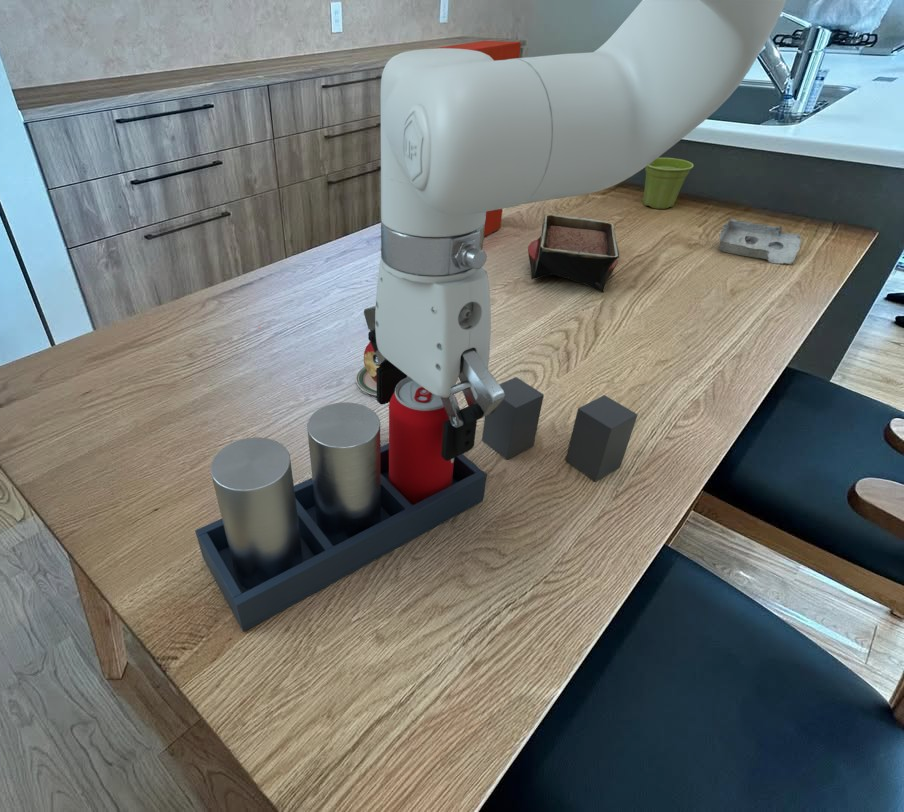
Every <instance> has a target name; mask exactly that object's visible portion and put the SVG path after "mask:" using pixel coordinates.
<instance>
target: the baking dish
mask: <svg viewBox="0 0 904 812" xmlns="http://www.w3.org/2000/svg"><path fill="white" fill-rule="evenodd" d="M615 231H616V229H615V225H614V224H613V223H612V222H610V221H606V220H599V219H592V218H584V217H578V216H573V215H572V216H571V215H561V214H545V215H544V216H543V218H542V227H541V236H540V237H538V238H537V239H535V240H533V241H531V242H530V243H529V244H528V245H527V254H528V261H529V266H530V276H531V278H530V279H531V280H536V279H540V278H544V277H548V276H552V275H555V276H558V277H561V278H563V279H568V280H570V281H573V282H577V283H580V284H583V285H586V286H588V287H591V288H593V289H595V290H598V292H602V293H605V291H604V290H605V288H606V285H607V283H608V281H609V279H610V277H611V275H612V273H613V272H614V270H615V268H616V267H617V266H618V259H619V258H620V249H619V246H618V242H617V238H616V237H617V236H616V232H615Z"/></svg>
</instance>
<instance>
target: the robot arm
mask: <svg viewBox="0 0 904 812" xmlns="http://www.w3.org/2000/svg"><path fill="white" fill-rule="evenodd" d="M786 2H787V0H641V1H640V2H639V4H638V5H637V6H636V7H635V9H634V10H633V11H631V13H630V15H628V16H627V17H626V19H625V20H624V21H623V22H622V24H621V25H620V26H619V27H618V28H617V29H616V30H615V32H614V33H613V34H612V35H611V36H610V37H609V38H608V39H607V40H606V41H605V42H604V43H602V45H601V46H599V47H598V48H596V49H595V50H594V51H593V52H592V51H591V52H576V53H560V54H550V55H540V56H527V57H519V58H515V59H507V60H497V61H494V60H493V59H492V58H491V57H490V56H489V55H487V54H485V53H482V52H479V51H474V50H467V49H451V48H439V47H438V48H439V49H432V48H421V49H413V50H407V51H403V52H400V53H398V54H396V55H394V56H392V57H391V58H390V59H389V60H388V61H387V63H386V64H385V66H384V67H383V68H384V69H383V71H382V73H381V77H380V78H381V79H380V261H379V266H378V273H377V281H376V282H377V283H376V294H375V305H373V306H370V307H367V308H366V307H365V309H363V315H364V318H365V322H366V325H367V330H369V332H368V333H367V334H368V340H369V342H371V344H372V347H373V349H374V351H375V353H374V354H373V362H374V364H375V365H376V366H379V368H376V379H377V396H376V402H377V403H378V404H380V405H386V404H389V402H390V399H391V397H392V395H393V393H394V392H395V388H396V386H397V384H398V383H399V382H400V381H401V380H403V379H405V378H407V376H409V377H410V378H411V379H413V380H414V381H415V382H417V383H418V384H419V385H421V386H422V387H424V388H425V389H426V390H428V391H429V392H431V393H433V394H434V395H436V396H439V397H441V400H442V402H443V405H444V407H445V410H446V412H447V415H448V417H449V419H448V420H446V421H445V422H444V424H443V437H442V450H441V455H442V458H444V459H445V460H446V461H449V460H451V459H453V458H455V457H457V456H459V455H461V454H463V455H464V454H466V453H468V452H469V451H471V450H472V449H473V448H474V447H475V441H476V440H475V438H476V434H477V433H476V431H477V423H478V420H481V419H482V418H485V416H487V415H489V414H491V413H493V412H494V411H495V408H497V406H498V405H499V404H500V403H501V402H502V401H503V399H504V398H505V393H504V391H503V389H502V388H501V386H500V385H499V384H500V383H499V382H498V381H497V379H496V378H495V377H494V375H493V374H492V373H491V371H490V370H489V363H490V354H491V353H490V352H491V331H492V309H491V306H492V305H491V291H490V290H491V289H490V282H489V276H488V271H487V270H486V269H485V268H483V267H484V266H485V264H486V262H487V259H488V256H487V252H486V251H485V250H483V248H484V238H485V236H484V229H485V220H486V211H492V210H498V209H502V210H504V209H508V208H509V209H510V208H515V207H519V206H521V205H525V204H532V203H539V202H544V201H551V200H558V199H564V198H570V197H571V198H572V197H578V196H584V195H589V194H595V193H598V192H600V191H604V190H607V189H609V188H612V187H615V186H616V185H618V184H620V183H622V182H624V181H626V180H628V179H630V178H631V177H633V176H634V175H636V174H637V173H639V172H640V171H642V170H643V169H644V168H645V169H646V166H647V165H649V164H650V163H652V162H653V161H654V160H655V159H657V158H660V157H661V156H662V155H663V154H664V153H666V152H667V151H668V150H669V149H671V148H672V147H674V146H675V145H676V144H677V143H679V142H680V141H681V140H682V139H684V138H685V137H686V136H687V135H688V134H690V133H691V132H692V131H693V130H694V129H696V128H697V127H698V126H700V125H701V124H702V123H704V122H705V121H706V120H707V119H708V118H709V117H711V116H712V115H713V114H714V113H715V112H716V111H717V110H718V109H720V107H721V106H722V105H723V104H724V103H726V101H727V100H728V99H729V98H730V97H731V96H732V95H733V93H734V92H735V91H736V90H737V88H739V86H740V85H741V84H742V82H743V81H744V79H745V77H746V76H747V74H748V73H749V72H750V70H751V69H752V67H753V65H754V63H755V62H756V59H757V58H758V56H759V55H760V53H761V51H762V50H763V48H764V46H765V45H766V44H767V41H768V40H769V38H770V36H771V35H772V32H773V31H774V29H775V27H776V26H777V23H778V21H779V18H780V16H781V14H782V12H783V10H784V8H785V5H786ZM458 379H459V381H460V382H458V383H457V381H458ZM460 392H462V394H463V396H464V399H465V402H466V404H467V406H466V407H463V408H461V409H460V406H459V402H458V400H457V401H456V399H457V397H456V396H454V395H455V394H457V393H460ZM455 397H456V398H455ZM457 402H458V403H457Z"/></svg>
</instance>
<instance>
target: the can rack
mask: <svg viewBox="0 0 904 812" xmlns="http://www.w3.org/2000/svg"><path fill="white" fill-rule="evenodd" d="M380 470H381V522H380V523H378V524H376V525H374V526H372V527H370V528H368V529H366V530H364V531H362V532H360V533H358V534H357V535H355V536H353V537H351V538H349V539H347V540H345V541H343V542H341V543H339V544H337V545H335V546H333V545H332V544H331V543H330V541H329V540H328V539H327V537H326V536H325V535H324V534H323V532H322V531H321V530H320V529H319V527H318V526H317V520H316V510H315V500H314V490H313V480H312V477H311V478H308V479H306V480H304V481H302V482H300V483H297V484H294V491H295V499H296V507H297V515H298V523H299V530H300V538H301V546H302V554H303V562H302V563H300V564H299V565H297V566H295V567H293V568H291V569H289V570H287V571H285V572H283V573H281V574H279V575H277V576H275V577H273V578H271V579H269V580H268V581H266V582H264V583H262V584H260V585H258V586H256V587H254V588H252V589H248V588H246V587H245V586H243V585H242V584H241V583H240V582H239V580H238V579H237V577H236V574H235V571H234V567H233V562H232V558H231V554H230V550H229V546H228V542H227V538H226V533H225V529H224V525H223V521H222V518H220V519H217V520H215V521H213V522H210V523H208V524H206V525H204V526H202V527H199V528H197V529H196V530H195V535H196V538H197V543H198V546H199V549H200V553H201V556H202V559H203V560H204V562H205V564H206V566H207V568H208V570H209V571H210V573H211V575H212V577H213V579H214V581H215V582H216V585H217V586H218V588H219V590H220V592H221V593H222V596H223V597H224V599H225V601H226V603H227V604H228V607H229V608H230V610H231V612H232V614H233V616H234V618H235V619H236V621H237V624H238V625H239V627H240V629H241V631H242V632H243V633H245V632H246V631H248V630H250V629H252V628H253V627H255V626H257V625H260V624H261V623H263V622H265V621H267V620H268V619H270V618H272V617H273V616H276V615H277V614H279V613H281V612H282V611H285V610H286V609H289V608H290V607H292V606H294V605H296V604H297V603H299V602H301V601H303V600H305V599H307V598H308V597H310V596H312V595H314V594H317V592H319V591H322V590H323V589H325V588H326V587H328V586H330V585H332V584H334V583H335V582H338V581H339V580H341V579H343V578H345V577H347V576H349V575H350V574H353V573H354V572H357V570H359V569H361V568H364V567H365V566H367V565H368V564H370V563H373V562H374V561H376V560H378V559H379V558H382V557H383V556H385V555H387V554H389V553H391V552H392V551H395V550H396V549H398V548H400V547H402V546H403V545H405V544H407V543H409V542H411V541H413V540H414V539H417V538H418V537H420V536H421V535H424V534H425V533H428V532H429V531H431V530H432V529H435V528H437V527H438V526H440V525H442V524H444V523H445V522H447V521H449V520H451V519H452V518H455V517H457V516H458V515H460V514H462V513H463V512H465V511H467V510H469V509H471V508H473V507H475V506H476V505H478V504H481V503H482V502H483V501H484V499H485V492H486V484H487V478H488V474H487V472H485V471H484V470H483V469H481V468H480V467H479V466H477V465H476V464H475V463H474V462H473V461H472V460H471V459H469V458H468V457H467V456H466V455H464V454H461V455H459V456H457V457H455V458H454V466H453V477H452V485H451V486H449V487H447V488H446V489H444V490H442V491H440V492H438V493H436V494H434V495H432V496H430V497H428V498H426V499H424V500H422V501H420V502H418V503H417V504H415V505H411V504H410V503H409V502H408V500H407V499H406V498H405V497H404V496H403V495H402V494H401V493H400V492H399V491H398V490H397V489H396V488H395V487H394V486H393V485H392V484H391V483H390V482H389V442H388V443H386V444H384V445H381V446H380Z"/></svg>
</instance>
